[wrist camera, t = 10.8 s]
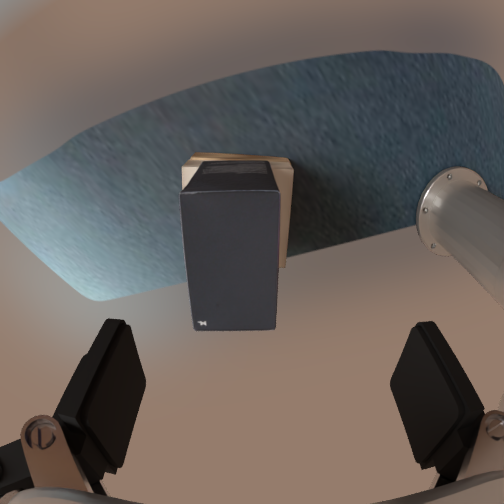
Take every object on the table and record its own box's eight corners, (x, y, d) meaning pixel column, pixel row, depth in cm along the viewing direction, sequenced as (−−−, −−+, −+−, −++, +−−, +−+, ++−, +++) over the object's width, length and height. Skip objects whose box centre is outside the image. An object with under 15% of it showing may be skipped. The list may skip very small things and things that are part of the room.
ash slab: (288, 162, 31) (293, 169, 28) (281, 252, 36) (285, 267, 33) (188, 159, 31) (181, 167, 28) (191, 249, 35) (186, 265, 32)
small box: (271, 264, 32) (279, 334, 23) (206, 265, 32) (190, 334, 23) (273, 158, 28) (285, 191, 18) (199, 160, 28) (172, 193, 18)
